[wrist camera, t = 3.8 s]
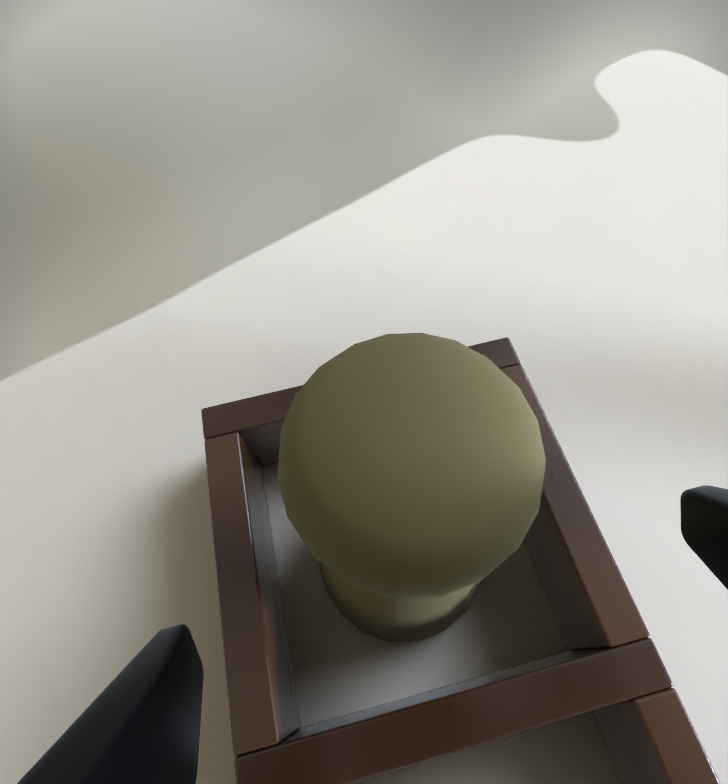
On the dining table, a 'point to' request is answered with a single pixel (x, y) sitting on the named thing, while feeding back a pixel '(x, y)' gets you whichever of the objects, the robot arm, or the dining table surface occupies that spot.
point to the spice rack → (453, 702)
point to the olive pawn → (409, 478)
